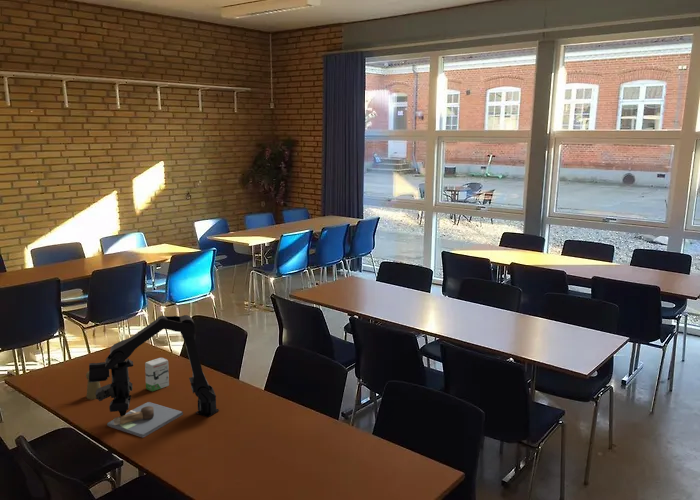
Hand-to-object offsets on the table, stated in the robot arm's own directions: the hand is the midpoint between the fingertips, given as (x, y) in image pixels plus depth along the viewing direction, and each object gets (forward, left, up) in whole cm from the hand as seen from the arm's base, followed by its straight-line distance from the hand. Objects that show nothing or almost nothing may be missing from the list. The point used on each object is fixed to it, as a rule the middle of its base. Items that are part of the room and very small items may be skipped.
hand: (122, 417), depth 211 cm
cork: (+29, -12, -3) cm, 32 cm away
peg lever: (-3, -2, -1) cm, 4 cm away
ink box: (+13, -31, -3) cm, 34 cm away
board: (-5, -7, -3) cm, 9 cm away
